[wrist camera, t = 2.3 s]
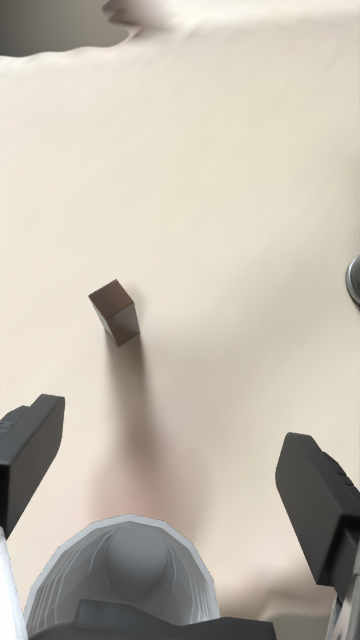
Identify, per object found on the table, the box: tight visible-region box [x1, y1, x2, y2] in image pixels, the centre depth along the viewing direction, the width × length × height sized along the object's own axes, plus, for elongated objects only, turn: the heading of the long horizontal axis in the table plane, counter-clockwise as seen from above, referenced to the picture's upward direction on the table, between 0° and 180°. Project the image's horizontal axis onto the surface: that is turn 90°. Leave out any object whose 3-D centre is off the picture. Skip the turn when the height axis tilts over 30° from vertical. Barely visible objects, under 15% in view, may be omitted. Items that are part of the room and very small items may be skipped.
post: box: [88, 279, 140, 347], centre depth 32 cm, size 3×3×8 cm
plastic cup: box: [23, 514, 220, 637], centre depth 22 cm, size 11×11×12 cm
